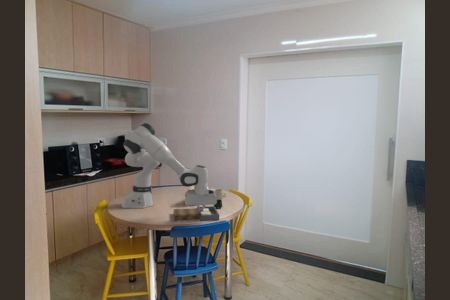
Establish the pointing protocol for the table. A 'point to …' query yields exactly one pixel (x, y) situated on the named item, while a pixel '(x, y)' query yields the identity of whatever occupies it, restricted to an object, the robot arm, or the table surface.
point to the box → (213, 215)
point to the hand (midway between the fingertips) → (200, 211)
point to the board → (186, 214)
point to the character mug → (219, 197)
